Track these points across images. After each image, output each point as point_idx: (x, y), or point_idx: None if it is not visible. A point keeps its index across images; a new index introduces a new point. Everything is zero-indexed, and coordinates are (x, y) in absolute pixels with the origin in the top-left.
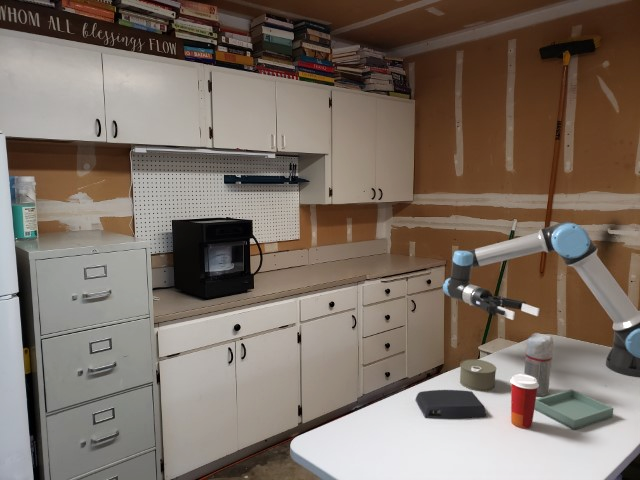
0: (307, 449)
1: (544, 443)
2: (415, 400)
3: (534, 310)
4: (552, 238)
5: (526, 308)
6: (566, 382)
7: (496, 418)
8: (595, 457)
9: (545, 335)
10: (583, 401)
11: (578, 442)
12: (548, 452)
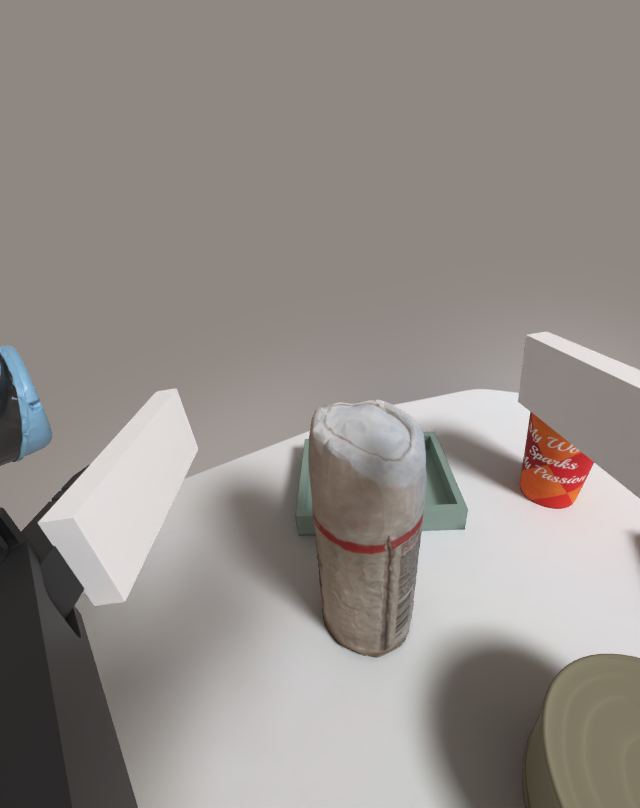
0: None
1: None
2: None
3: (173, 429)
4: None
5: (139, 497)
6: (186, 617)
7: (617, 526)
8: (459, 405)
9: (324, 424)
10: (308, 494)
11: (456, 428)
12: None
